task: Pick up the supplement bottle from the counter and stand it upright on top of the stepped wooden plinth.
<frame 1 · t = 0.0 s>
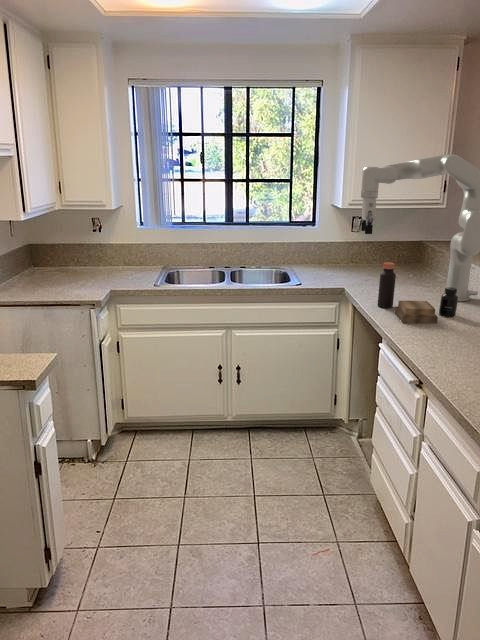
hand: (366, 232, 243), 31 cm above the worktop, tool pointing down, fingers open, 9 cm apart
stepped wooden plinth: (415, 318, 220), on the worktop
vinegar: (385, 306, 237), on the worktop
supplement bottle: (447, 315, 224), on the worktop
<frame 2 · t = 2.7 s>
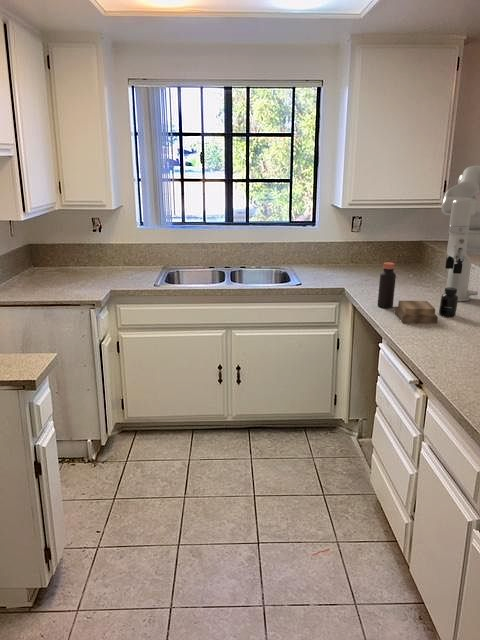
hand: (453, 270, 218), 20 cm above the worktop, tool pointing down, fingers open, 9 cm apart
nothing on the worktop moved.
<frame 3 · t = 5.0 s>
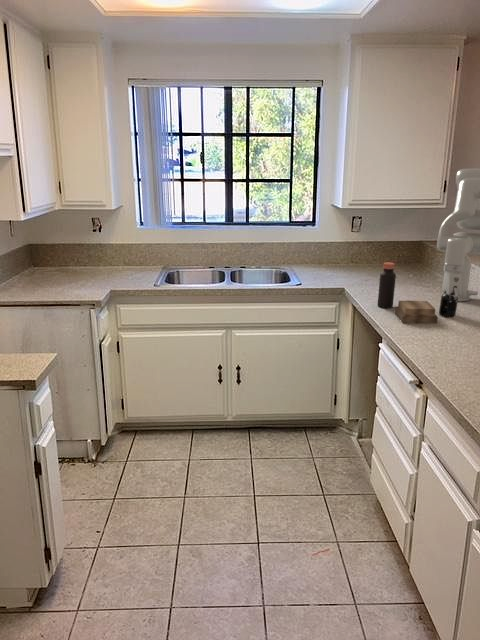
hand: (448, 308, 223), 3 cm above the worktop, tool pointing down, fingers closed on supplement bottle, 6 cm apart
supplement bottle: (447, 315, 224), on the worktop, touching gripper
everything else where it was.
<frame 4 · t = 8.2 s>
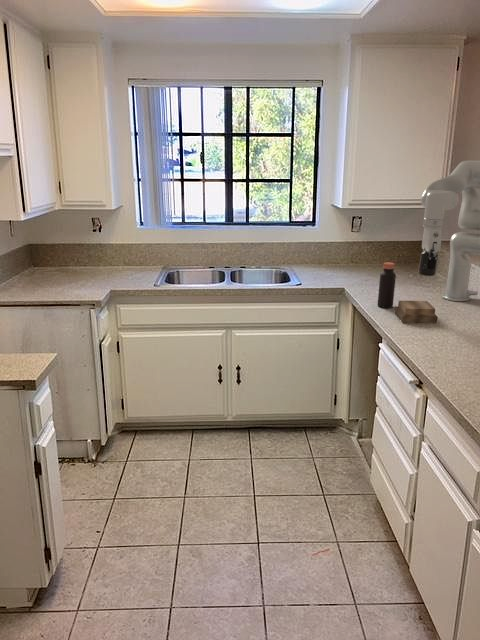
hand: (427, 266, 214), 22 cm above the worktop, tool pointing down, fingers closed on supplement bottle, 6 cm apart
supplement bottle: (426, 274, 215), point 19 cm above the worktop, touching gripper
everything else where it was.
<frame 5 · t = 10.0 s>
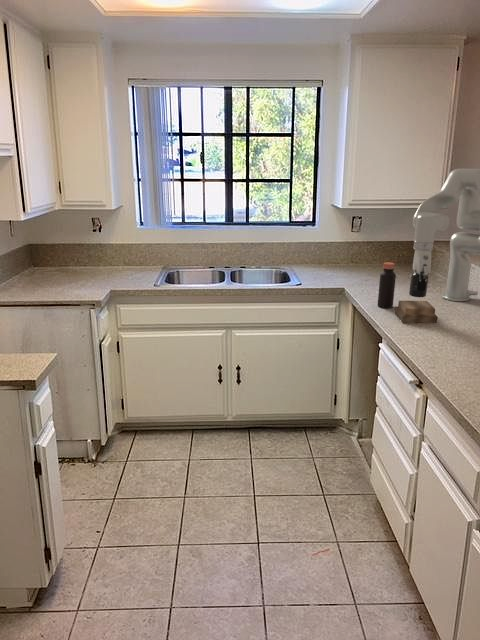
hand: (418, 288, 216), 13 cm above the worktop, tool pointing down, fingers closed on supplement bottle, 6 cm apart
supplement bottle: (417, 295, 217), point 10 cm above the worktop, touching gripper
everything else where it was.
when the fingers open (11 cm above the worktop, at t = 11.5 s): supplement bottle drops 1 cm, resting on stepped wooden plinth.
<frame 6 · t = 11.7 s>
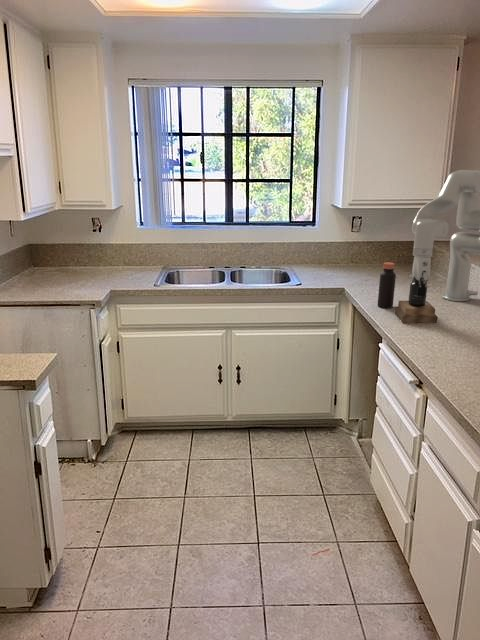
hand: (417, 293, 217), 11 cm above the worktop, tool pointing down, fingers open, 8 cm apart
supplement bottle: (416, 304, 219), point 6 cm above the worktop, touching stepped wooden plinth
everything else where it was.
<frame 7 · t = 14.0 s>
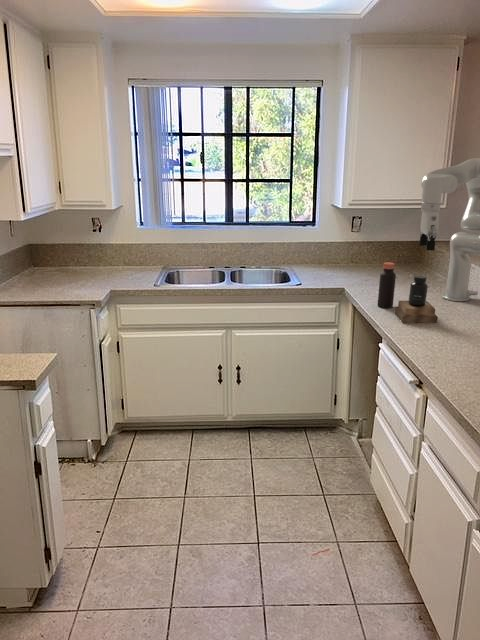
hand: (426, 247, 221), 28 cm above the worktop, tool pointing down, fingers open, 9 cm apart
nothing on the worktop moved.
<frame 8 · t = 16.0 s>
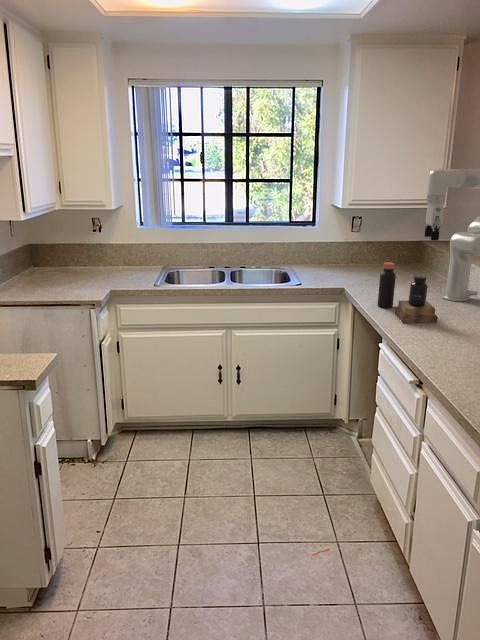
hand: (431, 238, 232), 30 cm above the worktop, tool pointing down, fingers open, 9 cm apart
nothing on the worktop moved.
at the end: supplement bottle inside the target area on the stepped wooden plinth (0.1 cm from its centre), point 5.8 cm above the stepped wooden plinth's base; supplement bottle tilted 0°; the gripper is holding nothing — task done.
